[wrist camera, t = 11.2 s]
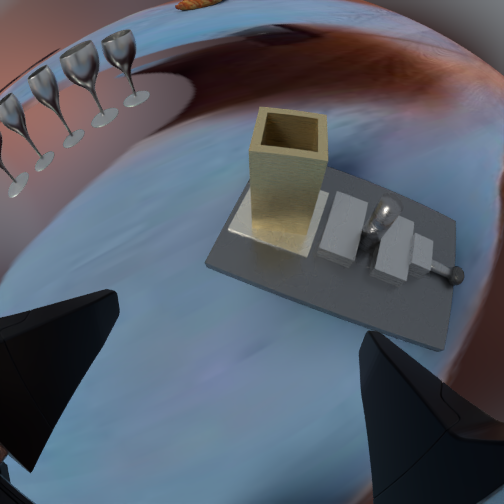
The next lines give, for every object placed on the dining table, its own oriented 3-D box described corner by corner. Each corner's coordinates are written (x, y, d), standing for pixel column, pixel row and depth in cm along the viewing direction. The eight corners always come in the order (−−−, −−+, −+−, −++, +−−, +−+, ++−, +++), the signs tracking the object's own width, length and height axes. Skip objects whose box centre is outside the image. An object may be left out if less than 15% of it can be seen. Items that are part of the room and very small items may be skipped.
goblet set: (142, 87, 37) (123, 20, 25) (157, 97, 35) (136, 22, 23) (5, 186, 30) (-38, 134, 18) (7, 207, 28) (-44, 152, 16)
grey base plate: (442, 353, 19) (493, 339, 13) (206, 267, 23) (188, 224, 17) (455, 227, 25) (489, 192, 18) (267, 154, 29) (268, 102, 22)
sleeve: (306, 235, 23) (328, 161, 15) (252, 227, 24) (248, 150, 15) (309, 191, 25) (326, 115, 17) (259, 185, 26) (259, 106, 17)
